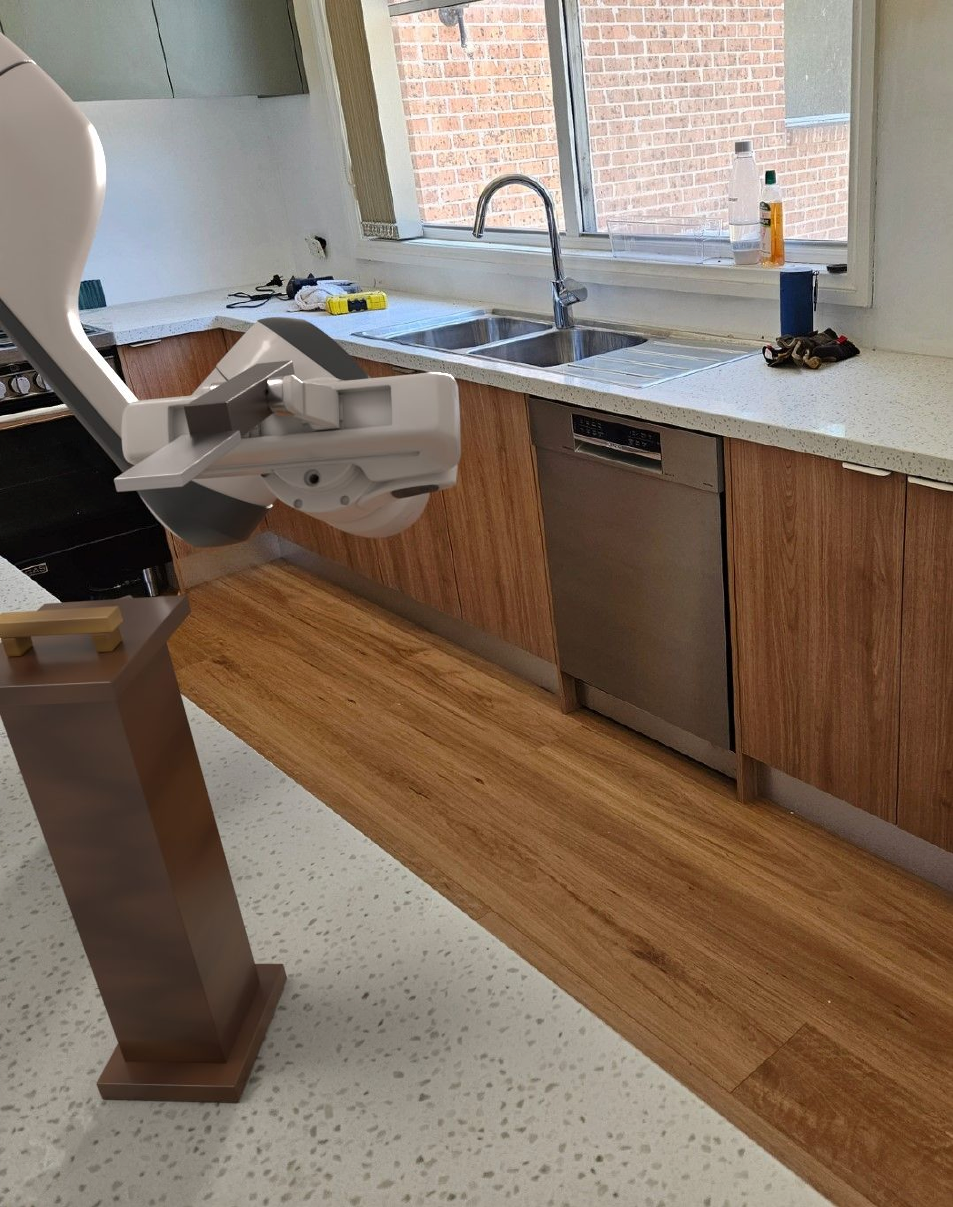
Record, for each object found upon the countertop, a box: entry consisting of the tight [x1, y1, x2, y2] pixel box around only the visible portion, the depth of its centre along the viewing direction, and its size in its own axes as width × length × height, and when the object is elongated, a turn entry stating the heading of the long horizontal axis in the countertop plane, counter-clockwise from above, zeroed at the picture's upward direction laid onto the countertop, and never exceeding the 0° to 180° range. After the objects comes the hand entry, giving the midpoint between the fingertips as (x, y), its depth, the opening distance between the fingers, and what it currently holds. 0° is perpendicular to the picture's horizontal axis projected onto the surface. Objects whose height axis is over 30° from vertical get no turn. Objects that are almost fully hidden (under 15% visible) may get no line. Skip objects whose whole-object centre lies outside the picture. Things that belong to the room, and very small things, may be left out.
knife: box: [113, 360, 295, 493], centre depth 53 cm, size 3×18×2 cm, turn 173°
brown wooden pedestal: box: [0, 594, 288, 1103], centre depth 56 cm, size 8×9×28 cm
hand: (246, 393), depth 57 cm, fingers closed on knife, 2 cm apart
